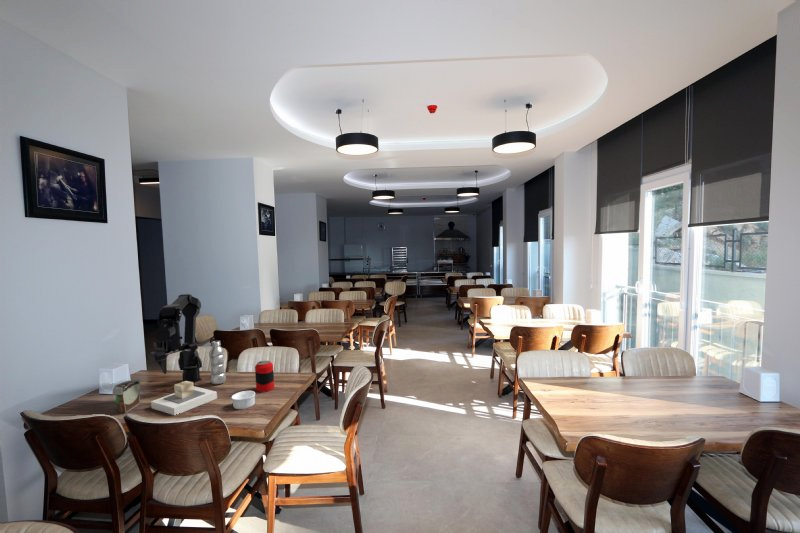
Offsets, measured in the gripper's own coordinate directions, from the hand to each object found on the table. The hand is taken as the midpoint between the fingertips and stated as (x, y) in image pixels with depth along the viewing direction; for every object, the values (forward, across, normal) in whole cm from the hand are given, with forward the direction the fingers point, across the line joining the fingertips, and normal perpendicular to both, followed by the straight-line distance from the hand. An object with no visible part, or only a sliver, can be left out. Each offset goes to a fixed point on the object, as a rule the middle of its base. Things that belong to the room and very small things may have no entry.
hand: (175, 370), depth 168 cm
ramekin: (+11, -4, +37) cm, 39 cm away
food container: (+11, +18, -6) cm, 22 cm away
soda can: (+11, -20, +32) cm, 39 cm away
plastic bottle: (+12, -17, +5) cm, 21 cm away
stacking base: (+11, +4, +12) cm, 17 cm away
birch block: (+8, +4, +12) cm, 15 cm away
